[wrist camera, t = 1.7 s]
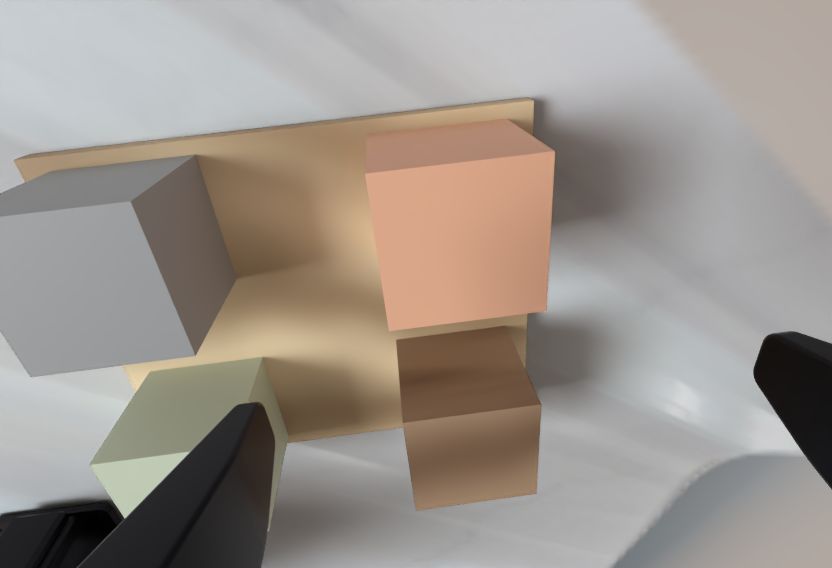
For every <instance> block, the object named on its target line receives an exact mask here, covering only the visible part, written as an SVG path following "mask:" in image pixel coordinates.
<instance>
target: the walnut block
mask: <svg viewBox="0 0 832 568" xmlns="http://www.w3.org/2000/svg"><path fill="white" fill-rule="evenodd" d="M396 346H397V359H398V371H399V383H400V395H401V408H402V420H403V428H404V435H405V441H406V448H407V454H408V461H409V468H410V474H411V481H412V487H413V494H414V501H415V507H416V510H423V509H430V508H437V507H445V506H452V505H459V504H466V503H473V502H480V501H487V500H495V499H502V498H509V497H516V496H523V495H530V494H536V490H537V472H538V454H539V436H540V418H541V403H540V401H539V398H538V396H537V394H536V392H535V390H534V387H533V385H532V383H531V381H530V379H529V376H528V374H527V372H526V370H525V368H524V365H523V363H522V361H521V359H520V357H519V354H518V352H517V350H516V348H515V346H514V343H513V341H512V339H511V337H510V335H509V332H508V330H507V328H506V326H499V327H491V328H483V329H475V330H468V331H460V332H452V333H444V334H437V335H429V336H421V337H413V338H406V339H398V340H396Z"/></svg>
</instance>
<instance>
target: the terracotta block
mask: <svg viewBox="0 0 832 568" xmlns="http://www.w3.org/2000/svg"><path fill="white" fill-rule="evenodd" d="M554 164H555V151H554V150H553V149H551V148H550V147H548V146H547V145H545V144H544V143H542V142H541V141H539V140H538V139H536V138H535V137H533V136H532V135H530V134H529V133H527V132H525V131H524V130H522V129H521V128H519V127H518V126H516V125H515V124H513V123H512V122H510V121H509V120H507V119H498V120H489V121H480V122H472V123H463V124H454V125H446V126H437V127H428V128H420V129H411V130H403V131H394V132H385V133H377V134H368V135H366V160H365V177H366V184H367V190H368V197H369V203H370V210H371V217H372V223H373V230H374V236H375V243H376V250H377V256H378V263H379V269H380V276H381V283H382V289H383V296H384V302H385V309H386V316H387V322H388V329H389V331H395V330H403V329H411V328H418V327H426V326H434V325H442V324H450V323H457V322H465V321H473V320H481V319H489V318H496V317H504V316H512V315H520V314H527V313H535V312H543V311H546V309H547V291H548V273H549V255H550V237H551V218H552V200H553V182H554Z"/></svg>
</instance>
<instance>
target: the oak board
mask: <svg viewBox="0 0 832 568" xmlns="http://www.w3.org/2000/svg"><path fill="white" fill-rule="evenodd" d="M533 118H534V100H532V99H530V98H519V99H510V100H501V101H492V102H484V103H475V104H466V105H457V106H449V107H440V108H431V109H422V110H414V111H405V112H396V113H387V114H379V115H370V116H361V117H352V118H344V119H335V120H326V121H317V122H309V123H300V124H291V125H282V126H274V127H265V128H256V129H247V130H239V131H230V132H221V133H212V134H204V135H195V136H186V137H177V138H169V139H160V140H151V141H143V142H134V143H125V144H116V145H108V146H99V147H90V148H81V149H73V150H64V151H55V152H46V153H38V154H29V155H26V156H23V157H21V158H18V159H15V160H14V162H15V164H16V166H17V167H18V169H19V171H20V173H21V175H22V177H23V179H24V181H25V182H27V181H30V180H32V179H34V178H36V177H39V176H41V175H43V174H45V173H48V172H50V171H56V170H65V169H74V168H82V167H91V166H100V165H108V164H117V163H126V162H134V161H143V160H152V159H160V158H169V157H178V156H186V155H195V154H196V157H197V160H198V163H199V166H200V169H201V172H202V175H203V178H204V181H205V184H206V187H207V190H208V193H209V196H210V199H211V202H212V205H213V208H214V211H215V214H216V217H217V220H218V223H219V226H220V230H221V233H222V236H223V239H224V242H225V245H226V248H227V251H228V254H229V257H230V260H231V263H232V266H233V269H234V272H235V275H236V278H237V279H236V281H235V283H234V285H233V287H232V289H231V291H230V293H229V294H228V296H227V298H226V300H225V302H224V304H223V306H222V308H221V309H220V311H219V313H218V315H217V317H216V319H215V321H214V322H213V324H212V326H211V328H210V330H209V332H208V334H207V336H206V337H205V339H204V341H203V343H202V345H201V347H200V349H199V351H198V352H197V354H196V356H192V357H184V358H177V359H169V360H161V361H153V362H146V363H138V364H130V365H122V366H123V368H124V370H125V372H126V374H127V376H128V378H129V380H130V382H131V383H132V385H133V387H134V389H135V391H136V392H137V390H138V389H139V387H140V385H141V384H142V382H143V381H144V379H145V378H146V376H147V375H148V373H149V372H150V371H157V370H165V369H173V368H181V367H188V366H196V365H204V364H212V363H219V362H227V361H235V360H243V359H250V358H258V357H263V360H264V363H265V366H266V369H267V372H268V375H269V378H270V381H271V384H272V387H273V390H274V393H275V396H276V399H277V402H278V406H279V409H280V412H281V415H282V418H283V421H284V424H285V427H286V430H287V433H288V440H287V443H291V442H298V441H306V440H313V439H321V438H328V437H336V436H343V435H350V434H358V433H365V432H373V431H380V430H388V429H395V428H402V427H403V420H402V408H401V395H400V383H399V371H398V359H397V346H396V340H398V339H406V338H413V337H421V336H429V335H437V334H444V333H452V332H460V331H468V330H475V329H483V328H491V327H499V326H506V328H507V330H508V332H509V335H510V337H511V339H512V341H513V343H514V346H515V348H516V350H517V352H518V354H519V357H520V359H521V361H522V363H523V365H524V368H525V370H526V345H527V314H520V315H512V316H504V317H496V318H489V319H481V320H473V321H465V322H457V323H450V324H442V325H434V326H426V327H418V328H411V329H403V330H395V331H389V329H388V322H387V316H386V309H385V302H384V296H383V289H382V283H381V276H380V269H379V263H378V256H377V250H376V243H375V236H374V230H373V223H372V217H371V210H370V203H369V197H368V190H367V184H366V177H365V160H366V135H368V134H377V133H385V132H394V131H403V130H411V129H420V128H428V127H437V126H446V125H454V124H463V123H472V122H480V121H489V120H498V119H507V120H509V121H510V122H512V123H513V124H515V125H516V126H518V127H519V128H521V129H522V130H524V131H525V132H527V133H529V134H530V135H532V136H533Z"/></svg>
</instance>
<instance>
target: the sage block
mask: <svg viewBox="0 0 832 568" xmlns="http://www.w3.org/2000/svg"><path fill="white" fill-rule="evenodd" d="M250 402H261V403H262V404H263V405H264V407H265V410H266V413H267V416H268V418H269V421H270V424H271V427H272V430H273V433H274V437H275V457H274V468H273V479H272V490H271V502H270V513H269V523H268V531H269V529H270V524H271V519H272V514H273V509H274V505H275V500H276V495H277V490H278V485H279V480H280V475H281V470H282V465H283V460H284V455H285V450H286V445H287V440H288V433H287V430H286V427H285V424H284V421H283V418H282V415H281V412H280V409H279V406H278V402H277V399H276V396H275V393H274V390H273V387H272V384H271V381H270V378H269V375H268V372H267V369H266V366H265V363H264V360H263V357H258V358H250V359H243V360H235V361H227V362H219V363H212V364H204V365H196V366H188V367H181V368H173V369H165V370H157V371H150V372H149V373H148V375H147V376H146V378H145V379H144V381H143V382H142V384H141V385H140V387H139V389H138V390H137V392H136V393H135V395H134V396H133V398H132V399H131V401H130V403H129V404H128V406H127V407H126V409H125V410H124V412H123V413H122V415H121V417H120V418H119V420H118V421H117V423H116V424H115V426H114V427H113V429H112V430H111V432H110V434H109V435H108V437H107V438H106V440H105V441H104V443H103V444H102V446H101V448H100V449H99V451H98V452H97V454H96V455H95V457H94V458H93V460H92V462H91V463H90V465H89V466H90V467H91V469H92V470H93V472H94V473H95V475H96V476H97V478H98V479H99V481H100V482H101V484H102V485H103V487H104V488H105V490H106V491H107V493H108V494H109V496H110V497H111V499H112V500H113V502H114V503H115V505H116V506H117V508H118V509H119V511H120V512H121V514H122V515H123V517H124V518H126V517H127V516H128V515H129V514H130V513H131V512H132V511H133V510H134V509H135V508H136V507H137V506H138V505H139V504H140V503H141V502H142V501H143V500H144V499H145V498H146V496H147V495H148V494H149V493H150V492H151V491H152V490H153V489H154V488H155V487H156V486H157V485H158V484H159V483H160V482H161V481H162V480H163V479H164V478H165V477H166V476H167V475H168V474H169V473H170V472H171V471H172V470H173V469H174V468H175V467H176V466H177V465H178V464H179V463H180V462H181V461H182V460H183V459H184V458H185V457H186V456H187V455H188V454H189V453H190V452H191V451H192V450H193V449H194V447H195V446H196V445H197V444H198V443H199V442H200V441H201V440H202V439H203V438H204V437H205V436H206V435H207V434H208V433H209V432H210V431H211V430H212V429H213V428H214V427H215V426H216V425H217V424H218V423H219V422H220V421H221V420H222V419H223V418H224V417H225V416H226V415H227V414H228V413H229V412H230V411H231V410H232V409H233V408H234V407H235V406H236V405H238V404H243V403H250Z"/></svg>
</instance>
